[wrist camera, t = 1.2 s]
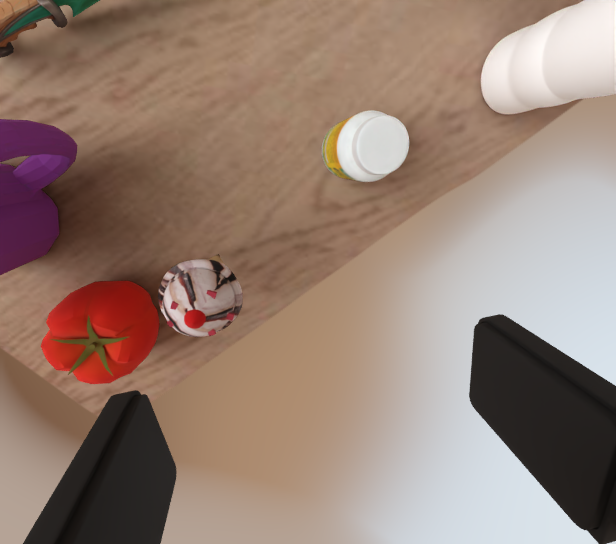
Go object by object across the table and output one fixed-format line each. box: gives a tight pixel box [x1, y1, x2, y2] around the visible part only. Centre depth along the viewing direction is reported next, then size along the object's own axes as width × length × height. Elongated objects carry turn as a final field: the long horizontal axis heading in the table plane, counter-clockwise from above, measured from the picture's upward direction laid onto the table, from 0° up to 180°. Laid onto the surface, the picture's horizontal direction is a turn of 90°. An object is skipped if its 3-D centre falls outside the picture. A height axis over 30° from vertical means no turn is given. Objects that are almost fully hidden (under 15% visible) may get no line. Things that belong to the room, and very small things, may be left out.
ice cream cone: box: [158, 254, 243, 337], centre depth 26 cm, size 6×6×15 cm
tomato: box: [41, 281, 159, 384], centre depth 29 cm, size 9×9×8 cm
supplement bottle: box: [322, 110, 409, 182], centre depth 27 cm, size 5×5×10 cm
